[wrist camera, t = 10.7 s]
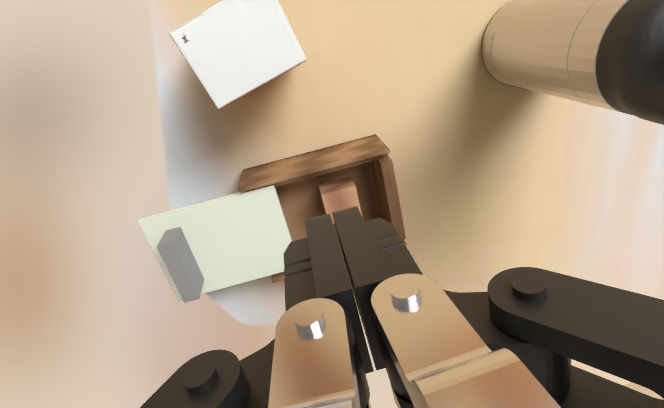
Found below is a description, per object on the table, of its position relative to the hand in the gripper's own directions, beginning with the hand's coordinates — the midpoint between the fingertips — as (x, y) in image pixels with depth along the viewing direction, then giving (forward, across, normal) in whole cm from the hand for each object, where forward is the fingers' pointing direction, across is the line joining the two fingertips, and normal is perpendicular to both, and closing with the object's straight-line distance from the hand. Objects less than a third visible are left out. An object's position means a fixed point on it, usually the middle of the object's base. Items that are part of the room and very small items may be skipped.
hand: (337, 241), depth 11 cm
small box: (+35, +3, -5) cm, 36 cm away
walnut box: (+35, 0, +14) cm, 38 cm away
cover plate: (+30, +12, +14) cm, 35 cm away
